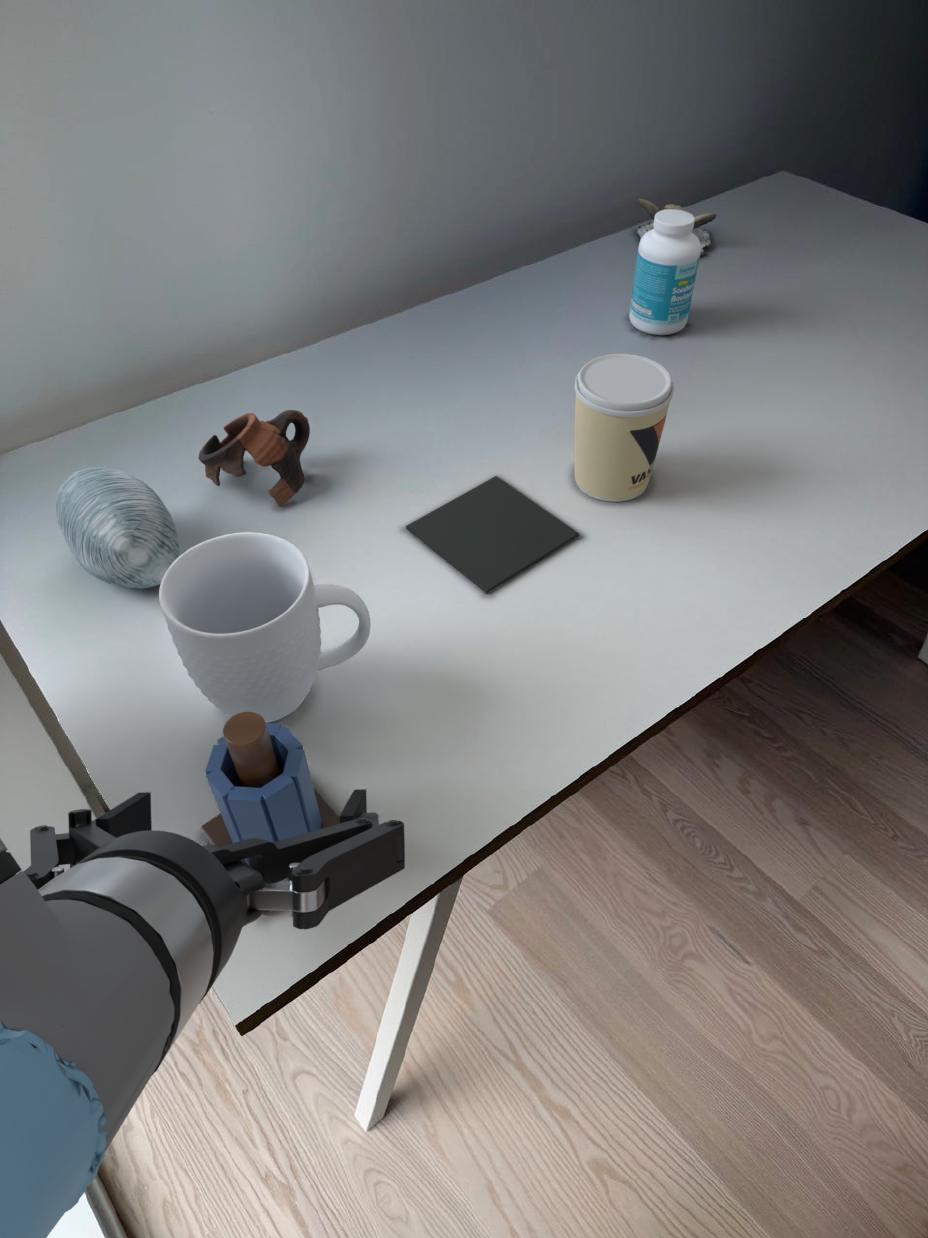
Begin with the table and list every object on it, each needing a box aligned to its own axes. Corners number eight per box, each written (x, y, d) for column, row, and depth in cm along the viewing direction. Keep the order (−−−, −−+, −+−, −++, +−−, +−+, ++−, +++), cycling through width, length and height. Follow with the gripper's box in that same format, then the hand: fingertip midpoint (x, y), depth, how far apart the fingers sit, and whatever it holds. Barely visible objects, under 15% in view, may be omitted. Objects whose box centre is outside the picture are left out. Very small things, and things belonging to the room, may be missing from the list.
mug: (365, 623, 79) (350, 511, 70) (389, 720, 72) (375, 609, 63) (195, 656, 77) (155, 544, 67) (202, 760, 70) (158, 650, 60)
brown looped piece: (266, 529, 89) (212, 466, 84) (229, 520, 96) (177, 462, 92) (346, 449, 93) (297, 385, 88) (304, 446, 100) (257, 387, 96)
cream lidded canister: (641, 517, 89) (659, 415, 80) (553, 493, 92) (561, 391, 83) (667, 464, 95) (686, 363, 86) (584, 443, 97) (594, 343, 88)
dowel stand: (205, 836, 65) (154, 722, 55) (297, 775, 69) (265, 657, 58) (263, 915, 61) (220, 808, 51) (358, 846, 65) (335, 732, 54)
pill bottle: (674, 343, 111) (693, 235, 101) (619, 328, 114) (632, 222, 104) (695, 317, 116) (715, 211, 106) (641, 303, 118) (656, 199, 108)
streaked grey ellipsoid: (71, 536, 89) (4, 501, 80) (137, 468, 90) (79, 424, 80) (155, 624, 85) (96, 599, 76) (224, 552, 86) (174, 517, 76)
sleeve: (219, 827, 64) (190, 756, 57) (290, 780, 67) (269, 707, 60) (264, 886, 61) (238, 818, 54) (336, 834, 64) (320, 763, 57)
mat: (405, 528, 88) (405, 525, 88) (496, 478, 93) (496, 475, 93) (486, 594, 82) (486, 590, 82) (578, 536, 87) (578, 533, 87)
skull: (730, 247, 129) (730, 191, 122) (676, 283, 128) (673, 228, 121) (675, 217, 136) (672, 162, 129) (623, 250, 135) (617, 197, 127)
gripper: (-191, 1046, 35) (57, 873, 56) (441, 1038, 35) (451, 868, 56) (-199, 858, 35) (53, 755, 56) (438, 849, 35) (449, 750, 56)
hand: (253, 812), depth 56 cm, fingers open, 13 cm apart
